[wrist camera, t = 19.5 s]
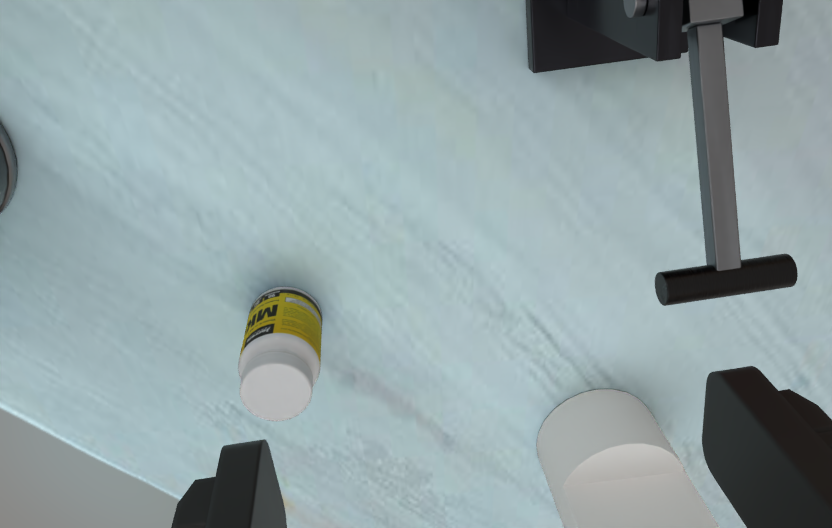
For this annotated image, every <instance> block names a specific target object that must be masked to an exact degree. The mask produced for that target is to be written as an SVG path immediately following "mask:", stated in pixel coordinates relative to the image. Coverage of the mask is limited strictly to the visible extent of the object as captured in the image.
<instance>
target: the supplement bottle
mask: <svg viewBox="0 0 832 528" xmlns="http://www.w3.org/2000/svg"><path fill="white" fill-rule="evenodd" d="M321 334H322V313H321V310H320V307H319V305H318V304H317V302H316V301H315V299H314V298H313V297H311V296H310V295H309V294H308V293H306V292H304V291H302V290H300V289H297V288H293V287H277V288H273V289H270V290H268V291H266V292H264V293H263V294H261V295H260V296H259V297H258V298H257V299H256V300H255V302H254V303H253V305H252V307H251V310H250V313H249V317H248V321H247V326H246V331H245V336H244V340H243V345H242V348H241V353H240V358H239V364H238V370H239V376H240V379H241V384H240V397H241V400H242V402H243V404H244V406H245V407H246V408H247V409H248V410H249V411H250V412H251V413H252V414H254V415H255V416H257V417H259V418H262V419H265V420H270V421H283V420H288V419H291V418H293V417H295V416H297V415H299V414H300V413H301V412H303V411H304V410H305V409H306V407H307V406H308V404H309V403H310V400H311V397H312V388H313V386H314V385H315V383H316V381H317V379H318V376H319V372H320V357H321Z"/></svg>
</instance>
